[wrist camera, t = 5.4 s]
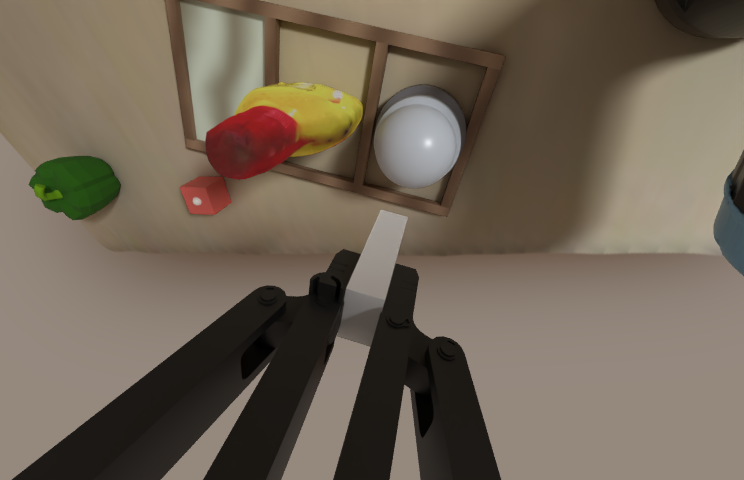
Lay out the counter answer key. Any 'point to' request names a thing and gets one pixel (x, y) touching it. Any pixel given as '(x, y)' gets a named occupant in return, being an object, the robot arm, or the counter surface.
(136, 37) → the counter surface
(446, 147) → the dome
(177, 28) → the divided wooden frame
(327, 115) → the bottle
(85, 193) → the bell pepper
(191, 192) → the die
